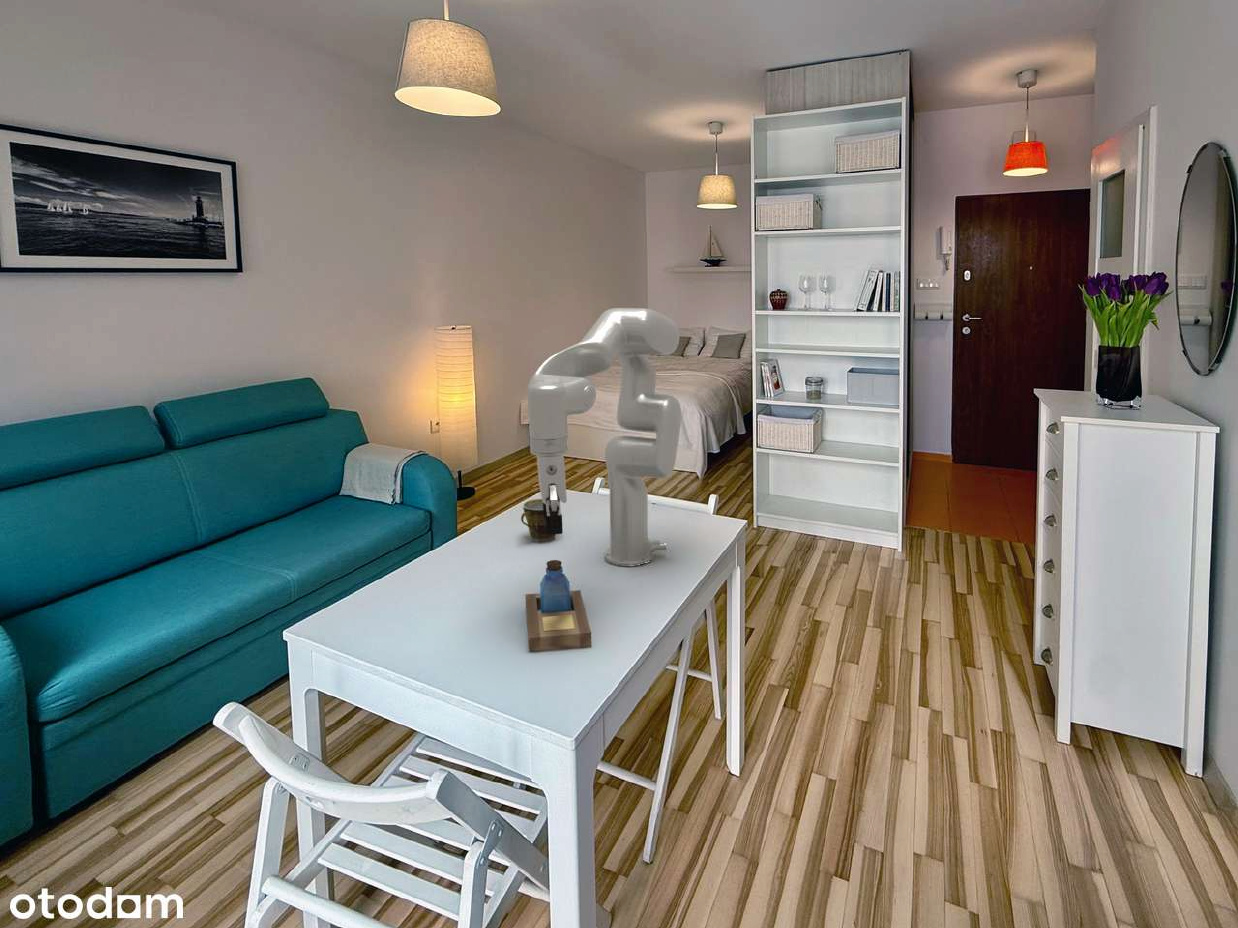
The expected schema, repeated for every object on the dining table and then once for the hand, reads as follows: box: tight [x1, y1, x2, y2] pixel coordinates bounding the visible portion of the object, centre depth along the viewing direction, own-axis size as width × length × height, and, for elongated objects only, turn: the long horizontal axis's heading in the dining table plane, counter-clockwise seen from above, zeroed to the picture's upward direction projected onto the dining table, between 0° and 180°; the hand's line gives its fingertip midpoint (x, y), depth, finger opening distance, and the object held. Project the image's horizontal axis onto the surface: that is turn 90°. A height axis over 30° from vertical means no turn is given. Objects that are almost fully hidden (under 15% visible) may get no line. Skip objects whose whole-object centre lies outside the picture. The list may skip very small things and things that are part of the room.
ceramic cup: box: [520, 498, 556, 544], centre depth 198 cm, size 13×10×10 cm
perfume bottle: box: [539, 559, 572, 613], centre depth 153 cm, size 6×6×12 cm
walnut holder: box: [525, 589, 592, 653], centre depth 151 cm, size 12×20×3 cm, turn 9°
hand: (552, 525), depth 150 cm, fingers open, 9 cm apart
